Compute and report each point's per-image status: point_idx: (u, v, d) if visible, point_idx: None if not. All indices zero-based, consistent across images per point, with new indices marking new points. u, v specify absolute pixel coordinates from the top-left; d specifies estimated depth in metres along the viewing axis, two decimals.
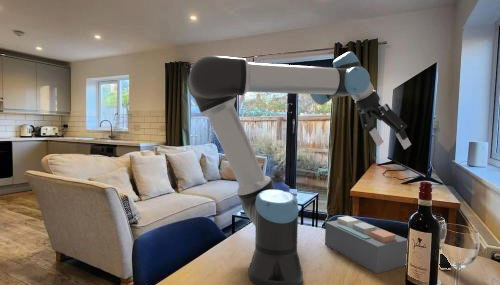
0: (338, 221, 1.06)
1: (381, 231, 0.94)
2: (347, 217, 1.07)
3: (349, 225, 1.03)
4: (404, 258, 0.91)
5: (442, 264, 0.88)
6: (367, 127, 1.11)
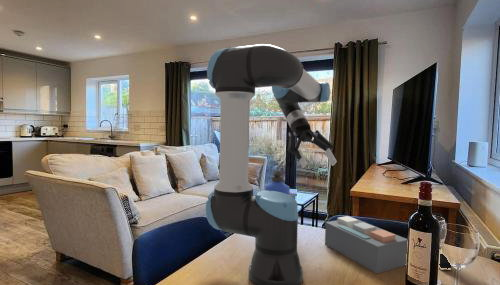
0: (338, 221, 1.06)
1: (381, 231, 0.94)
2: (347, 217, 1.07)
3: (349, 225, 1.03)
4: (404, 258, 0.91)
5: (442, 264, 0.88)
6: (297, 145, 1.13)
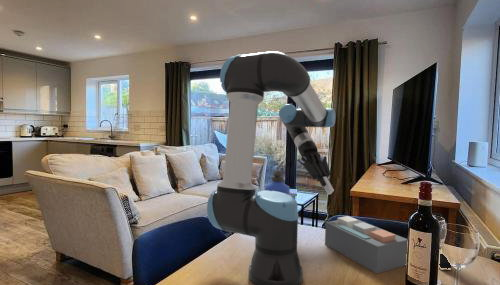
0: (338, 221, 1.06)
1: (381, 231, 0.94)
2: (347, 217, 1.07)
3: (349, 225, 1.03)
4: (404, 258, 0.91)
5: (442, 264, 0.88)
6: (319, 172, 1.18)
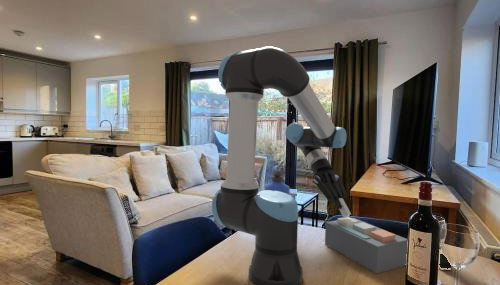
0: (338, 222, 1.06)
1: (381, 231, 0.94)
2: (347, 218, 1.07)
3: (349, 226, 1.03)
4: (404, 258, 0.91)
5: (442, 264, 0.88)
6: (334, 193, 1.10)
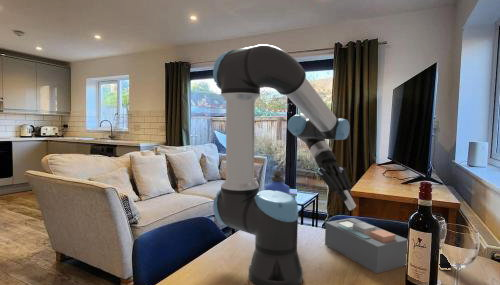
0: None
1: (381, 231, 0.94)
2: (347, 222, 1.07)
3: None
4: (404, 258, 0.91)
5: (442, 264, 0.88)
6: (339, 185, 1.08)
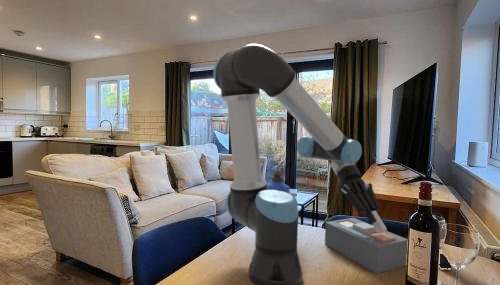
0: None
1: (381, 234, 0.94)
2: (347, 222, 1.07)
3: None
4: (404, 258, 0.91)
5: (442, 264, 0.88)
6: (366, 205, 0.96)
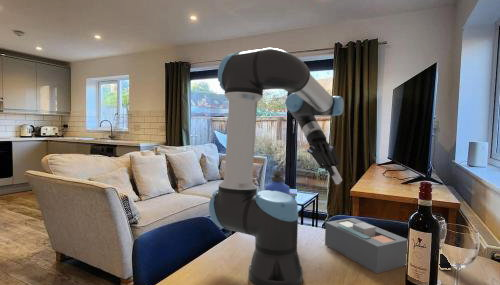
0: None
1: (381, 237, 0.94)
2: (347, 222, 1.07)
3: None
4: (404, 258, 0.91)
5: (442, 264, 0.88)
6: (327, 161, 1.16)
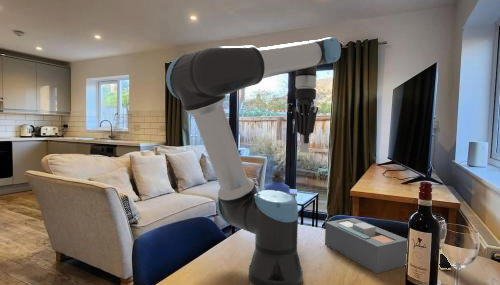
0: None
1: (381, 237, 0.94)
2: (347, 222, 1.07)
3: None
4: (404, 258, 0.91)
5: (442, 264, 0.88)
6: (300, 128, 1.13)
